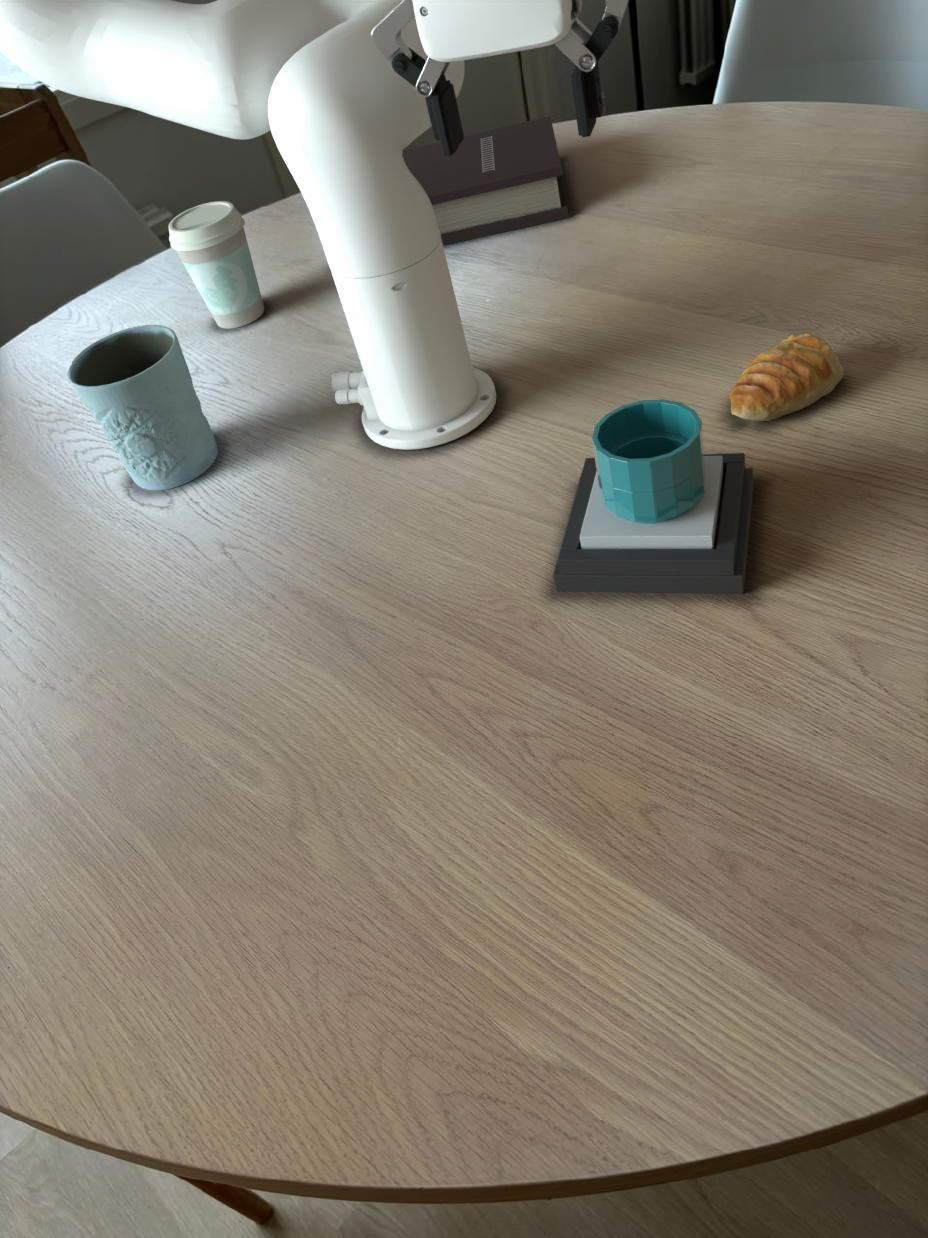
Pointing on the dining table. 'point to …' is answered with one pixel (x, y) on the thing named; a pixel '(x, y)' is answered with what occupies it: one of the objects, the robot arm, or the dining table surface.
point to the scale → (663, 566)
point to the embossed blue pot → (146, 405)
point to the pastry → (786, 379)
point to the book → (493, 181)
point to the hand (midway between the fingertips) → (519, 138)
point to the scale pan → (673, 534)
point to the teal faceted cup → (650, 460)
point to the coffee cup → (218, 261)
